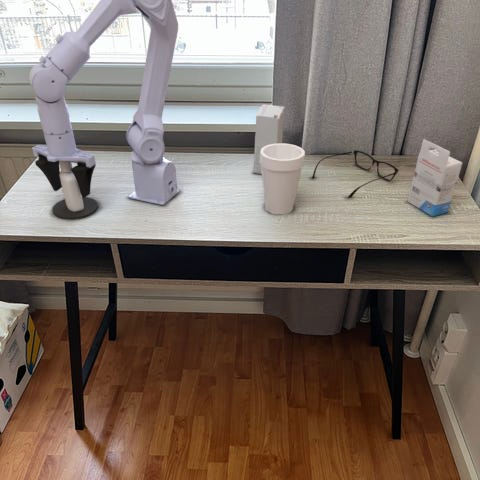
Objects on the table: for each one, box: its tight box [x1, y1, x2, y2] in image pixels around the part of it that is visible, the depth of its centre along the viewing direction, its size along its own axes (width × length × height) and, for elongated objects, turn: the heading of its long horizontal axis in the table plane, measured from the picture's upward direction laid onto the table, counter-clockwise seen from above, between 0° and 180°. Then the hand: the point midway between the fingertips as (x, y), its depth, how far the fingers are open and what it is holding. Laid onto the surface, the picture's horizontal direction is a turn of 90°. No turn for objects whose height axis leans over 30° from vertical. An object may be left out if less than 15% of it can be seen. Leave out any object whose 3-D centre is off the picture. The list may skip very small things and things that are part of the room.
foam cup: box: [260, 142, 306, 215], centre depth 109 cm, size 10×9×13 cm
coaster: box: [51, 196, 99, 220], centre depth 113 cm, size 10×10×1 cm
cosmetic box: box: [253, 103, 286, 175], centre depth 125 cm, size 8×6×15 cm
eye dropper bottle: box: [59, 161, 84, 212], centre depth 109 cm, size 4×6×12 cm
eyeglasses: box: [311, 149, 400, 199], centre depth 124 cm, size 16×16×4 cm
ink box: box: [407, 138, 463, 218], centre depth 110 cm, size 8×5×15 cm, turn 26°
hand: (72, 192), depth 110 cm, fingers open, 7 cm apart
